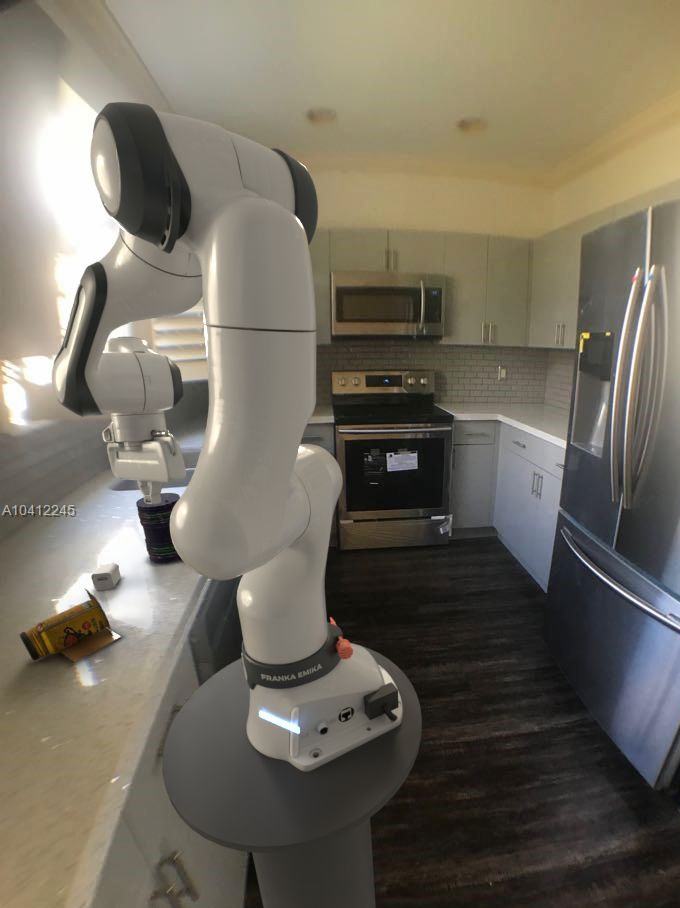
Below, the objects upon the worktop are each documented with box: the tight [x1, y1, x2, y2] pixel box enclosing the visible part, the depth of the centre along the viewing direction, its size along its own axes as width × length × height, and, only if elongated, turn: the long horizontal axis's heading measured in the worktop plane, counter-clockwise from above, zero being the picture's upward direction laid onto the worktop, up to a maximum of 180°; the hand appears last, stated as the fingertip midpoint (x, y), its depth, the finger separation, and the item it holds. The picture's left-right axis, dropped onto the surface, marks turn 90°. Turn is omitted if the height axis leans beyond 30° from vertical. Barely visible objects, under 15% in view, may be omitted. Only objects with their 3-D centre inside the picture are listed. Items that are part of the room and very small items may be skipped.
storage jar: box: [135, 492, 183, 565], centre depth 112 cm, size 10×10×15 cm
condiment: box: [19, 588, 113, 661], centre depth 82 cm, size 7×8×12 cm
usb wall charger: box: [90, 562, 122, 591], centre depth 103 cm, size 4×7×4 cm, turn 11°
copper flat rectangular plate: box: [58, 627, 122, 663], centre depth 83 cm, size 8×10×1 cm
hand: (153, 503), depth 89 cm, fingers closed
